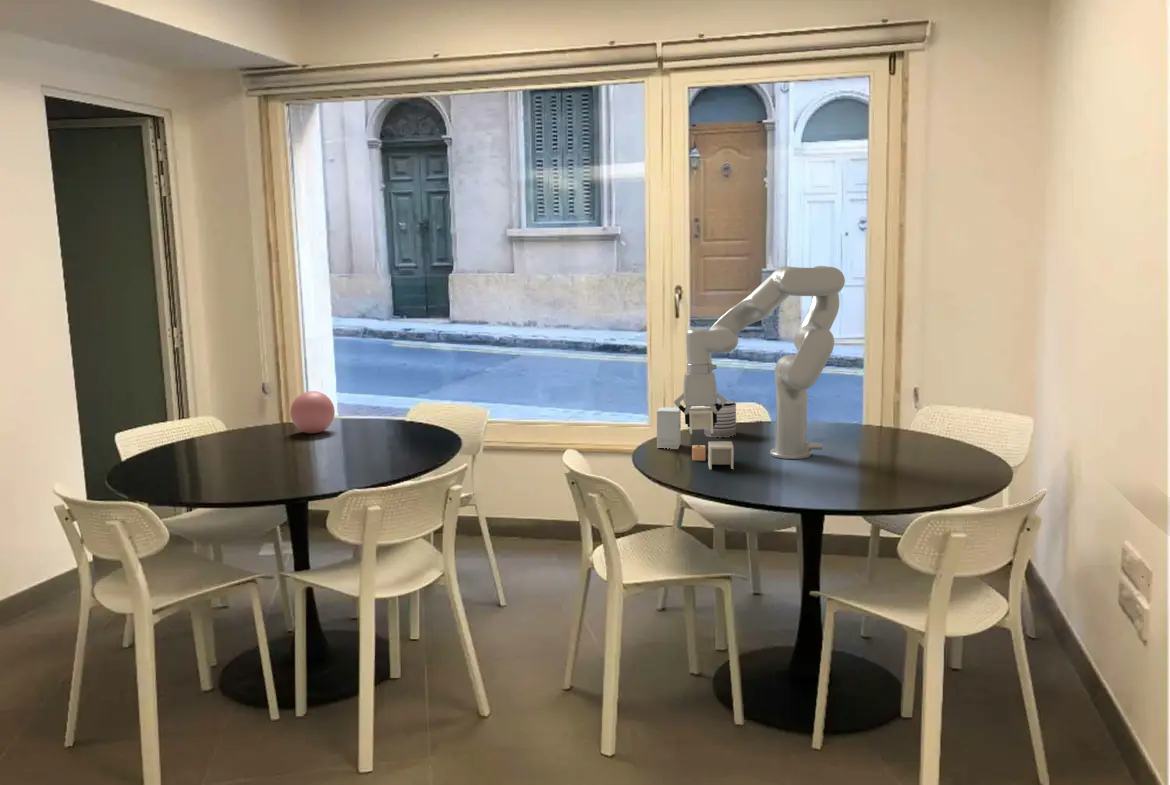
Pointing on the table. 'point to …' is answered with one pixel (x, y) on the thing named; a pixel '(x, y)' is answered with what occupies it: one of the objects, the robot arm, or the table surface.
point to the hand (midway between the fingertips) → (700, 425)
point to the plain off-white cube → (720, 453)
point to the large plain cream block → (701, 418)
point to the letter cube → (698, 452)
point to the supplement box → (668, 428)
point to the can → (724, 421)
